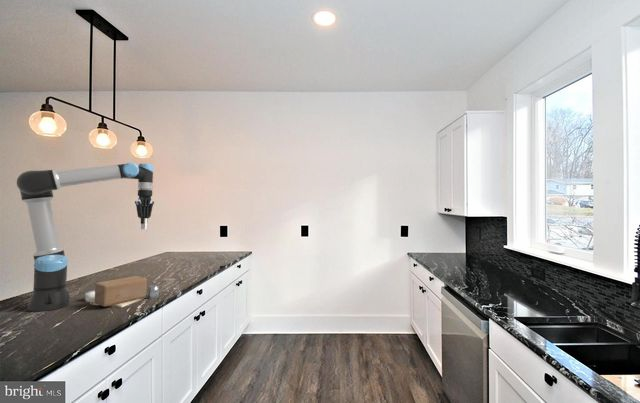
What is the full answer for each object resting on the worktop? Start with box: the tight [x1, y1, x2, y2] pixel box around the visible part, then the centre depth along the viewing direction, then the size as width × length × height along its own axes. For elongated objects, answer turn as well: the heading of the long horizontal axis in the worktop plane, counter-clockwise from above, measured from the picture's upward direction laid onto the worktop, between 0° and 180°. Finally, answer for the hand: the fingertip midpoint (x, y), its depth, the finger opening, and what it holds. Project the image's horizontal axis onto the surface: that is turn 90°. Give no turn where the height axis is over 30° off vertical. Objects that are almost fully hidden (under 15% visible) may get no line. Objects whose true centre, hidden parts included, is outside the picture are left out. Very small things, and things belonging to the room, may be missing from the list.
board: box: [89, 295, 148, 308], centre depth 153 cm, size 18×16×1 cm
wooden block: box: [94, 275, 148, 307], centre depth 151 cm, size 10×10×20 cm
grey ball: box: [147, 284, 160, 300], centre depth 160 cm, size 5×5×6 cm
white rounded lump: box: [84, 290, 95, 303], centre depth 154 cm, size 6×6×4 cm
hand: (143, 229), depth 180 cm, fingers closed
